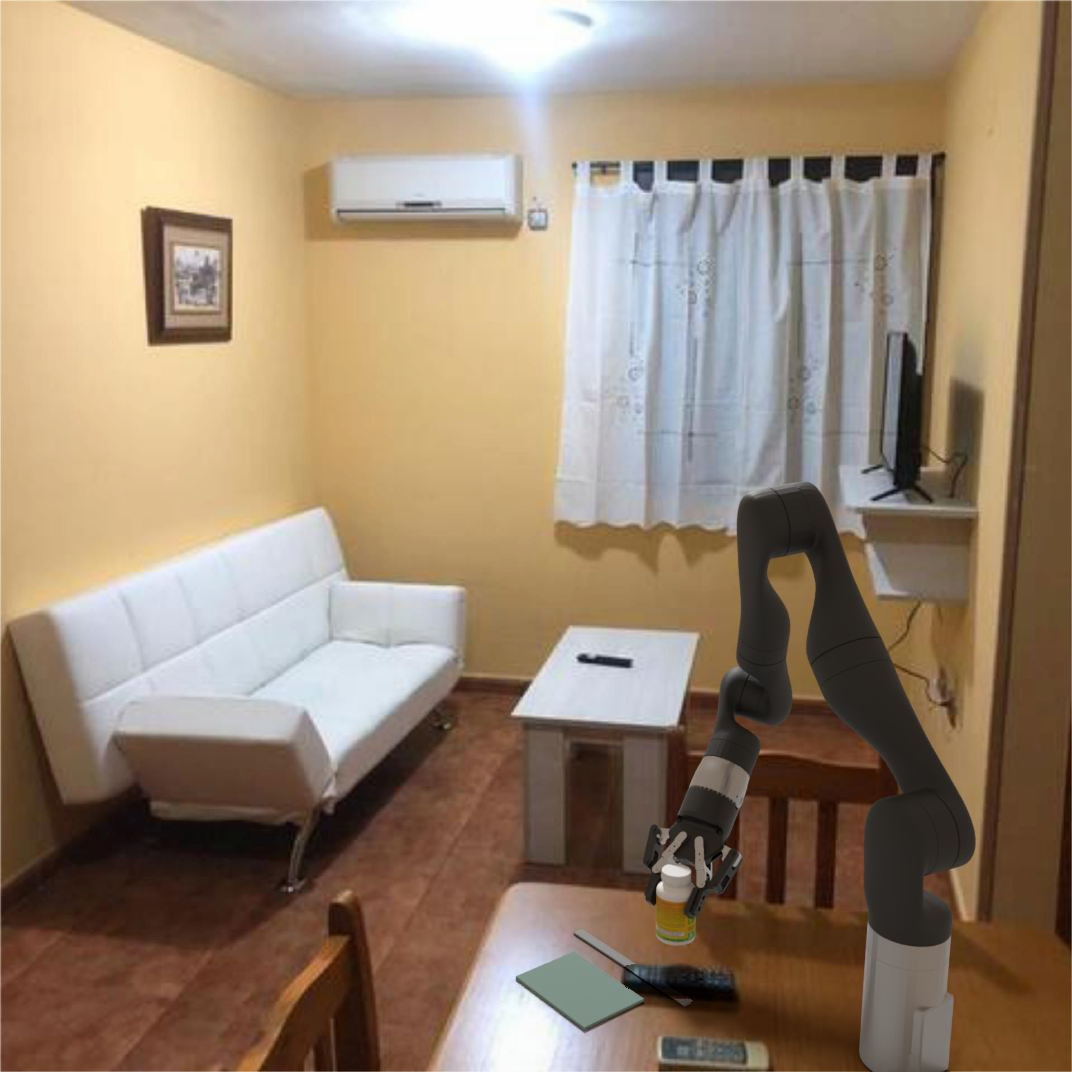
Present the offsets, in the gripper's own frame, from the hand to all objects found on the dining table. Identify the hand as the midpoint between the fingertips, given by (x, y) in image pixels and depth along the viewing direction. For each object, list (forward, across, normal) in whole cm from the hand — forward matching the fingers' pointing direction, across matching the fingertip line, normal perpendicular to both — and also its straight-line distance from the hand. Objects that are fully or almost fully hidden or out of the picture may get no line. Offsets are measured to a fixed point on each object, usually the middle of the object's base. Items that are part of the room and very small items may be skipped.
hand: (669, 909), depth 155 cm
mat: (+14, -6, -3) cm, 16 cm away
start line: (+8, -4, +3) cm, 10 cm away
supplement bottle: (+2, 0, +5) cm, 5 cm away
